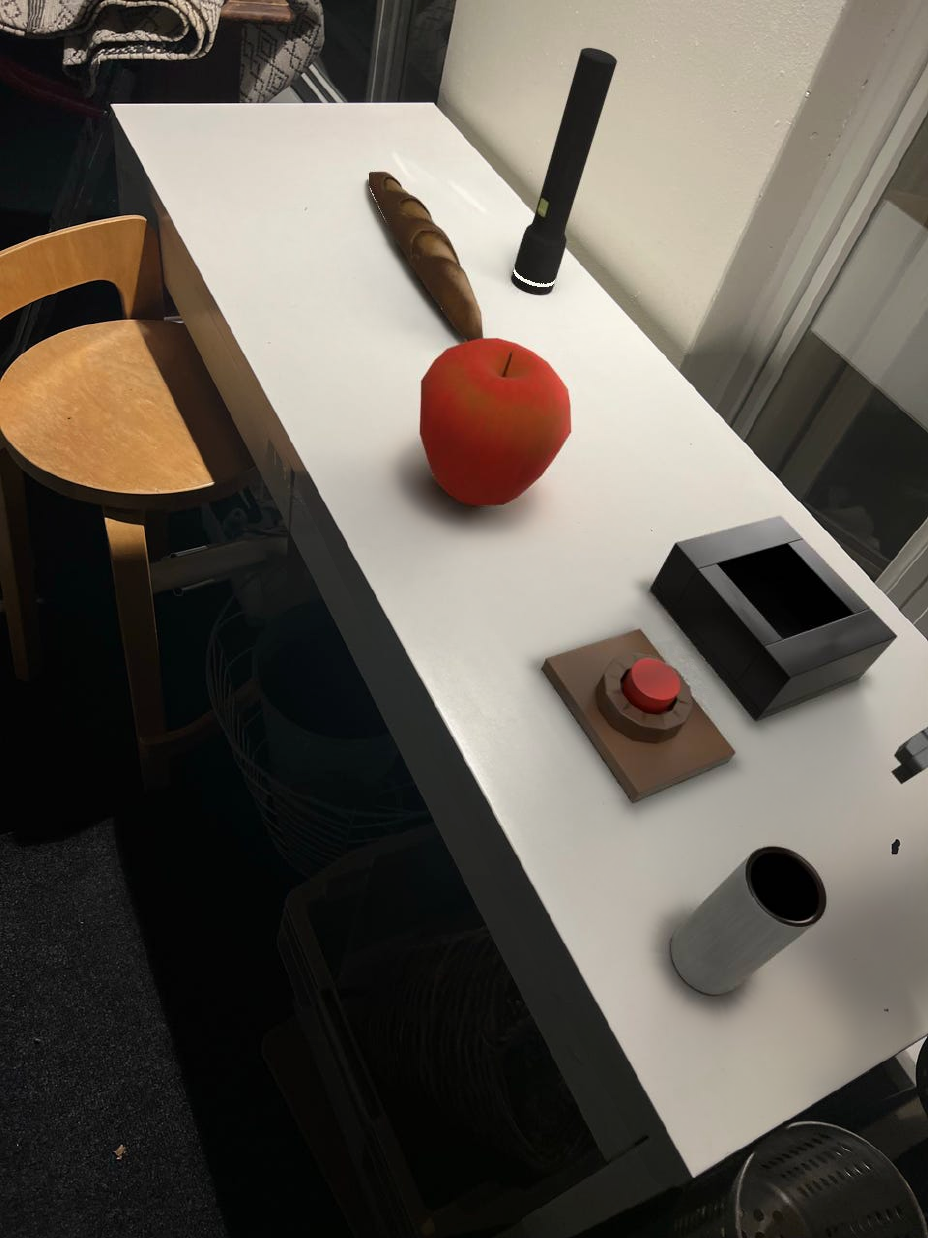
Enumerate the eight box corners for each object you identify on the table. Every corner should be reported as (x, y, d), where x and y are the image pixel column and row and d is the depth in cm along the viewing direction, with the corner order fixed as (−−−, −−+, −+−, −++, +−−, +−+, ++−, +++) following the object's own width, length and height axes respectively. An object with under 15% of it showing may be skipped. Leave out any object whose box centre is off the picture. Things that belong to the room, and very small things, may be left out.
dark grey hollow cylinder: (669, 913, 56) (743, 835, 48) (738, 931, 56) (823, 856, 49) (669, 985, 53) (747, 914, 45) (742, 1004, 53) (832, 936, 46)
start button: (680, 705, 64) (690, 691, 63) (641, 720, 62) (651, 706, 61) (651, 667, 66) (660, 652, 64) (612, 680, 64) (621, 665, 63)
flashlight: (534, 268, 107) (502, 274, 105) (600, 43, 90) (564, 43, 87) (561, 291, 105) (529, 297, 102) (634, 64, 87) (598, 65, 85)
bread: (502, 360, 93) (514, 316, 89) (458, 361, 91) (469, 317, 87) (386, 180, 114) (392, 139, 110) (348, 178, 112) (353, 137, 108)
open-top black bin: (859, 678, 73) (898, 636, 69) (755, 721, 68) (790, 677, 64) (751, 559, 80) (780, 514, 76) (649, 589, 75) (674, 542, 71)
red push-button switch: (729, 761, 65) (747, 738, 63) (632, 802, 61) (649, 779, 59) (634, 637, 71) (648, 613, 69) (541, 667, 67) (552, 642, 65)
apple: (566, 509, 79) (621, 374, 69) (467, 558, 73) (513, 417, 62) (473, 428, 84) (512, 291, 74) (373, 467, 77) (400, 322, 67)
